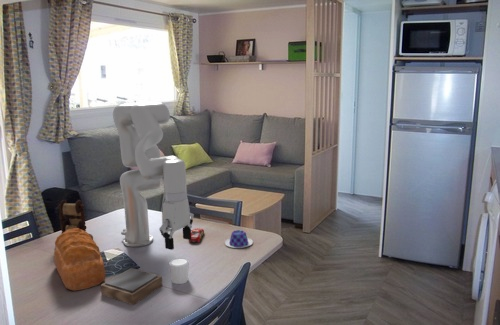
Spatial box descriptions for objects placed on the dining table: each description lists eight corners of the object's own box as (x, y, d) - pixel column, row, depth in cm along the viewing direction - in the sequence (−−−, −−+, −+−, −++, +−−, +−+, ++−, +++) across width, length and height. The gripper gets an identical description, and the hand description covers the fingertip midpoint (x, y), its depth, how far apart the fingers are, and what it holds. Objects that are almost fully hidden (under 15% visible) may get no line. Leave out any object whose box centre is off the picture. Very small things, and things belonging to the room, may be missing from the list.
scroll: (99, 238, 190) (95, 195, 186) (83, 252, 176) (78, 205, 171) (67, 237, 191) (62, 194, 187) (49, 251, 177) (43, 205, 173)
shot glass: (185, 285, 147) (185, 266, 145) (167, 283, 148) (166, 265, 147) (192, 276, 154) (191, 258, 152) (174, 274, 155) (173, 256, 153)
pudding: (244, 251, 175) (243, 239, 174) (219, 246, 180) (219, 234, 179) (257, 241, 185) (257, 229, 184) (233, 236, 191) (233, 225, 190)
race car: (193, 232, 196) (193, 224, 195) (205, 232, 196) (205, 224, 195) (187, 243, 183) (186, 235, 182) (199, 244, 183) (199, 235, 182)
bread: (91, 256, 171) (87, 220, 168) (108, 283, 150) (105, 241, 146) (53, 265, 164) (48, 227, 161) (66, 294, 142) (61, 251, 139)
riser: (101, 294, 142) (100, 283, 141) (131, 276, 154) (131, 266, 153) (133, 304, 135) (132, 293, 134) (162, 285, 147) (161, 274, 146)
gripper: (182, 188, 154) (185, 234, 157) (149, 201, 139) (153, 251, 142) (199, 191, 150) (202, 237, 153) (168, 204, 135) (171, 254, 138)
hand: (178, 243), depth 148 cm, fingers open, 9 cm apart
